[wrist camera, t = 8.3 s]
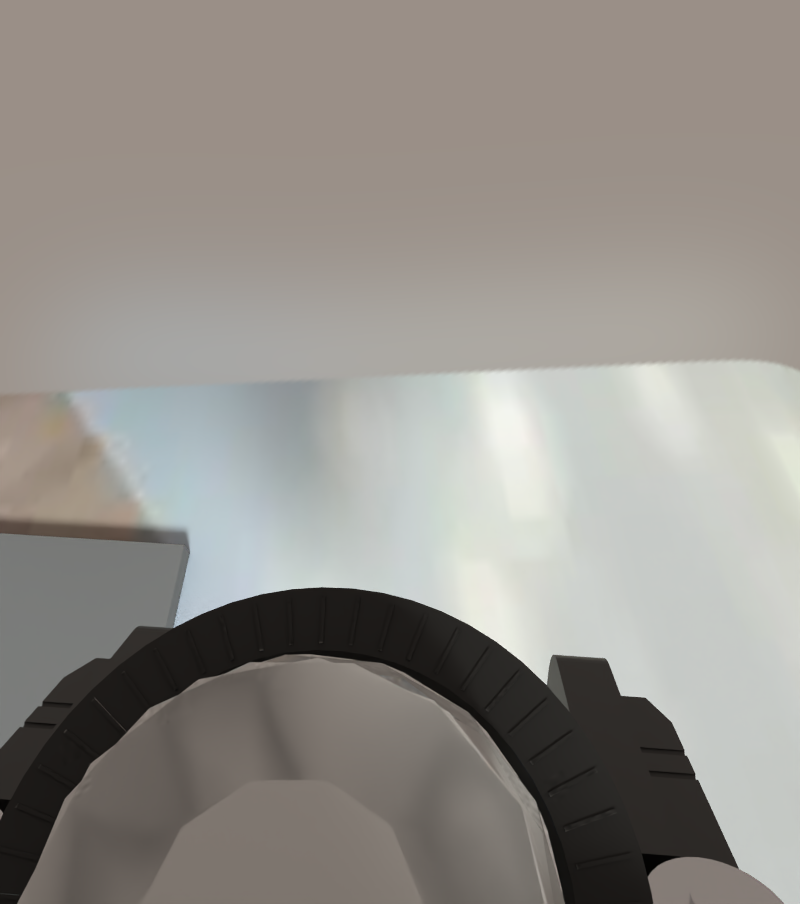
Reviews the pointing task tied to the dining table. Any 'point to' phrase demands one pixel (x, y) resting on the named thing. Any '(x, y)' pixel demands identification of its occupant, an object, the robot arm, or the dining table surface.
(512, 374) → the dining table surface
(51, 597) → the rubber mat
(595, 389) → the dining table surface
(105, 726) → the push button
